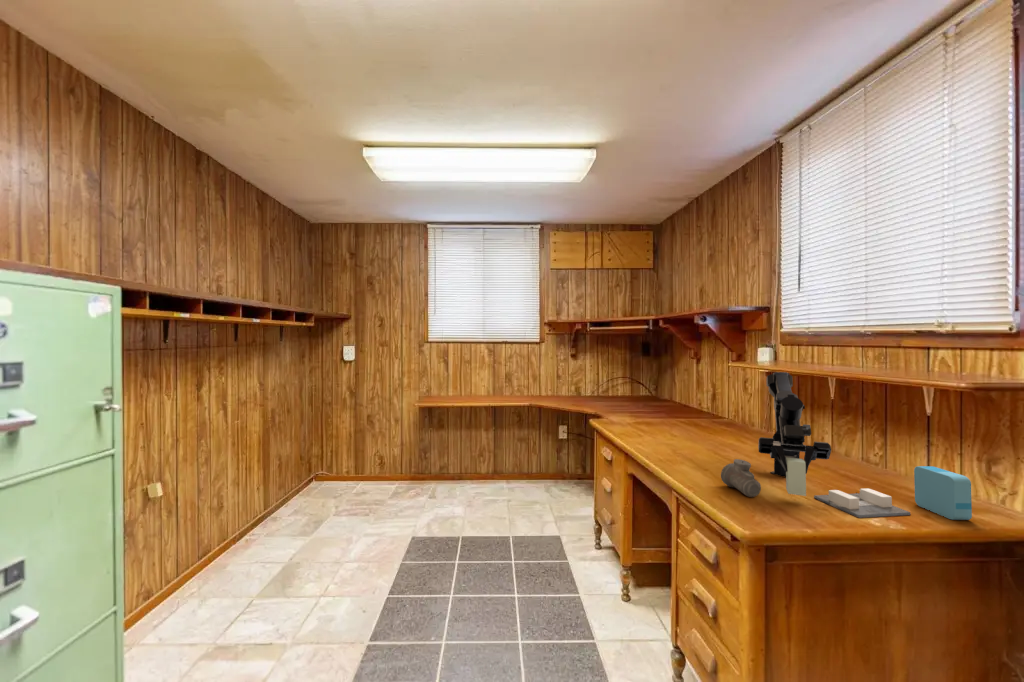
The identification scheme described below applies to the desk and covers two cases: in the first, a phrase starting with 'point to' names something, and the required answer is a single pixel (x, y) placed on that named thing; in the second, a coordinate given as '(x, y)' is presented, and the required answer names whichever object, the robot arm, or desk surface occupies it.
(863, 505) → the mounting plate
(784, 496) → the desk surface
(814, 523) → the desk surface
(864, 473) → the desk surface
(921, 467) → the data package
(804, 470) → the block
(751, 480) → the pipe fitting
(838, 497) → the mounted modules
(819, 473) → the desk surface
